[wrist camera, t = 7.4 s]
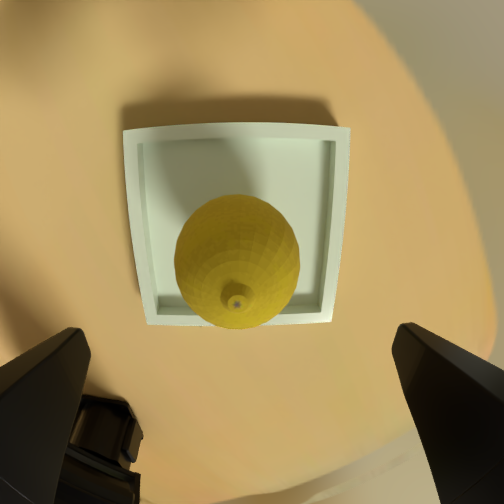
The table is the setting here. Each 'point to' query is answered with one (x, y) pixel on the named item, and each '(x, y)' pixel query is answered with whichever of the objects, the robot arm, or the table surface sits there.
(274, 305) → the lemon
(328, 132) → the dish
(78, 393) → the robot arm
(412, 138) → the table surface
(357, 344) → the table surface
